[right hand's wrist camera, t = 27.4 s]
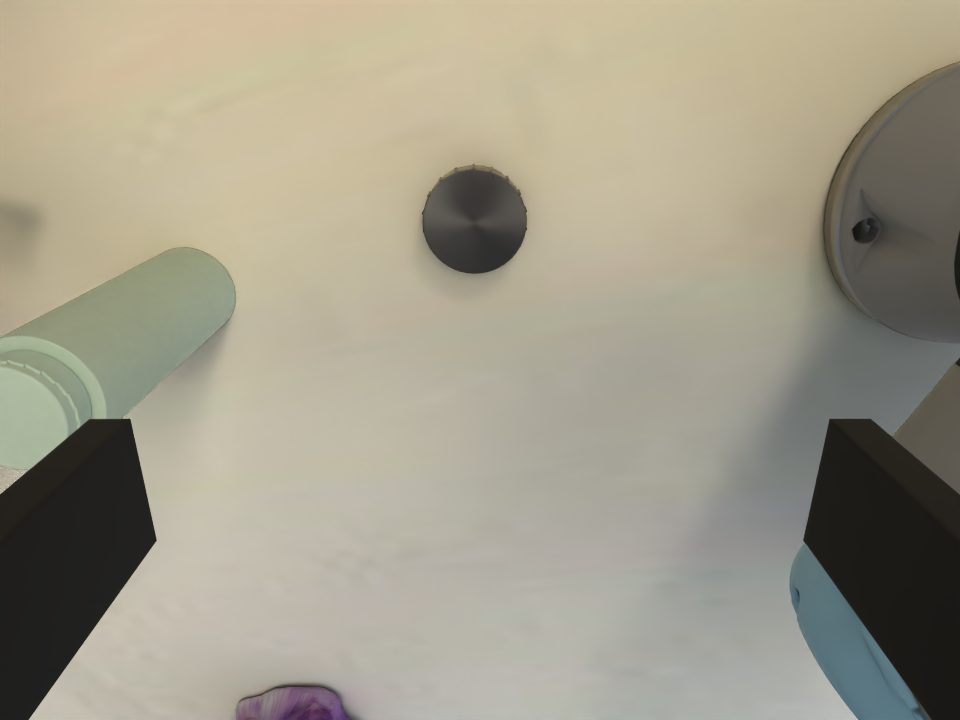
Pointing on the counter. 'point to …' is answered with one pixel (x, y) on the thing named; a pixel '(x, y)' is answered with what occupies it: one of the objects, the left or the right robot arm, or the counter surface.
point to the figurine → (292, 705)
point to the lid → (474, 219)
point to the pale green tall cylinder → (106, 350)
